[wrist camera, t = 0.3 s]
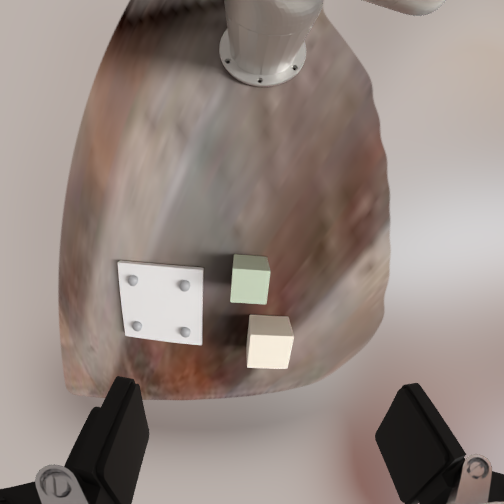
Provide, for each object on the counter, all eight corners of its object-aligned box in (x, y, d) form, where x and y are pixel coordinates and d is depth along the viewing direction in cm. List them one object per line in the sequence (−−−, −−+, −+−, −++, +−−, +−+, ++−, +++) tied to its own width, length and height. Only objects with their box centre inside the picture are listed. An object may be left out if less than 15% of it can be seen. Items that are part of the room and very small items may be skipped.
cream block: (249, 314, 48) (250, 334, 42) (288, 316, 48) (294, 336, 42) (246, 346, 50) (247, 367, 44) (282, 347, 50) (287, 368, 44)
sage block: (233, 254, 44) (232, 268, 39) (266, 256, 45) (270, 271, 39) (231, 284, 46) (230, 301, 40) (263, 286, 46) (266, 304, 40)
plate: (119, 260, 44) (115, 264, 42) (203, 267, 45) (202, 271, 43) (127, 332, 48) (124, 338, 46) (202, 342, 49) (201, 348, 47)
